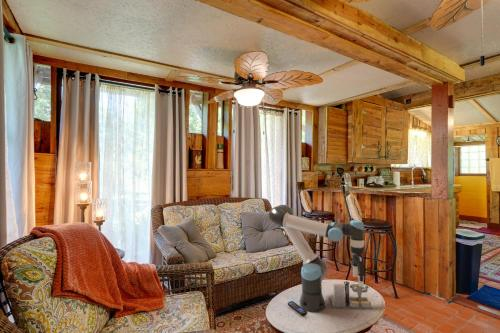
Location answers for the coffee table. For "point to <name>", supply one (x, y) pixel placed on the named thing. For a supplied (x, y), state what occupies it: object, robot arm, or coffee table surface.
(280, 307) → the coffee table surface
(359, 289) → the mechanical component
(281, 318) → the coffee table surface
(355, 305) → the hinge base
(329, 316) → the coffee table surface
